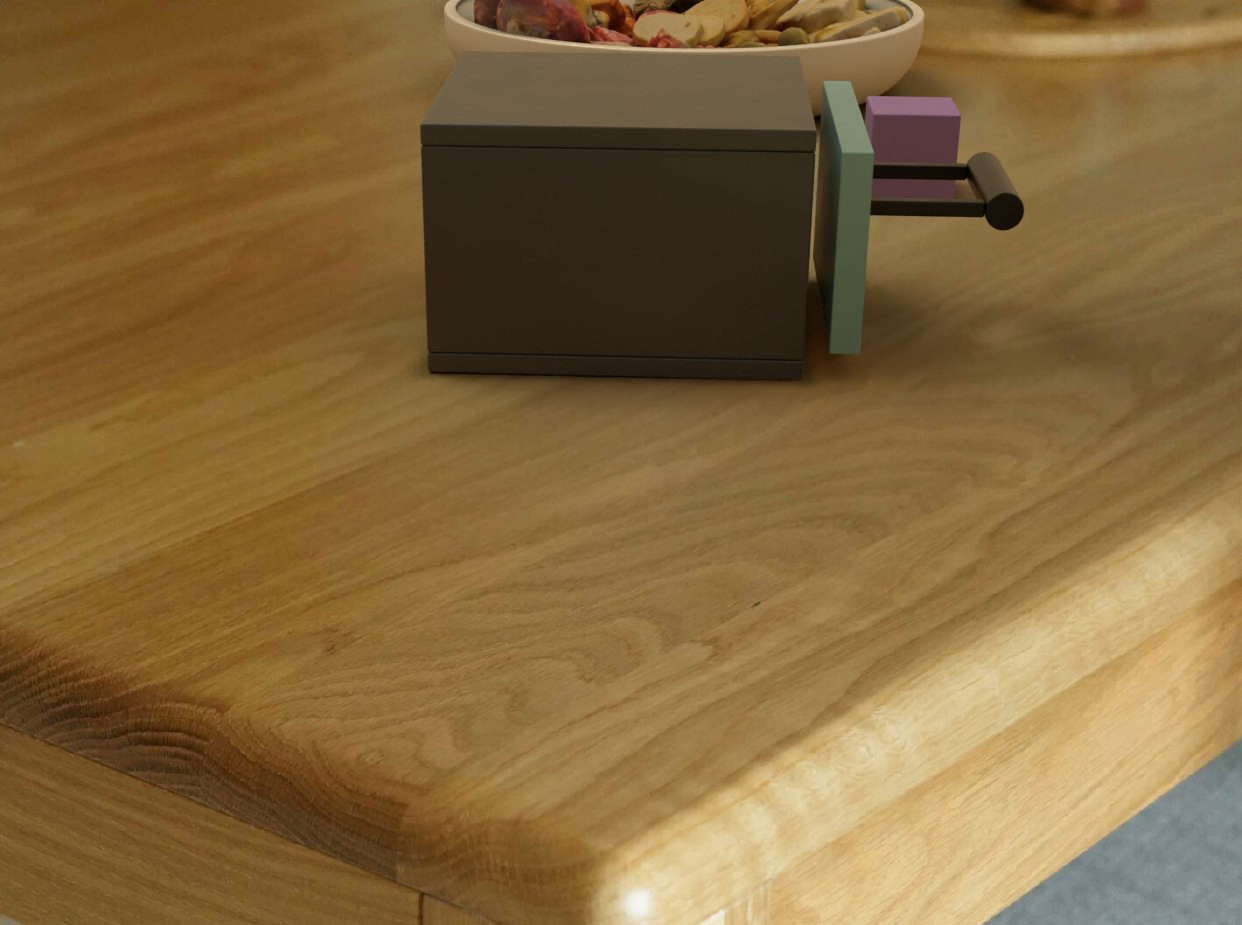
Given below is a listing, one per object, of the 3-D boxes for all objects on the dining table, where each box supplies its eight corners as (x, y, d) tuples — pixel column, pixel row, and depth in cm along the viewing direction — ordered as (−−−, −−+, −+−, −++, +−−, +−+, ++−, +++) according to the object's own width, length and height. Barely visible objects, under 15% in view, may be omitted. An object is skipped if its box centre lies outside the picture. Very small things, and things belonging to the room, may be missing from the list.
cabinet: (788, 273, 90) (800, 55, 86) (802, 380, 77) (817, 130, 73) (467, 267, 91) (462, 50, 87) (427, 372, 78) (419, 123, 74)
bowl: (688, 28, 146) (691, -85, 143) (1016, 93, 126) (1029, -38, 123) (352, 80, 129) (346, -48, 125) (671, 165, 109) (675, 15, 105)
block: (944, 181, 106) (951, 97, 104) (953, 202, 102) (961, 115, 100) (860, 180, 106) (866, 95, 104) (867, 200, 102) (873, 113, 100)
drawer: (980, 261, 89) (997, 83, 85) (1022, 358, 77) (1045, 155, 73) (538, 252, 90) (537, 75, 86) (513, 347, 78) (510, 146, 74)
